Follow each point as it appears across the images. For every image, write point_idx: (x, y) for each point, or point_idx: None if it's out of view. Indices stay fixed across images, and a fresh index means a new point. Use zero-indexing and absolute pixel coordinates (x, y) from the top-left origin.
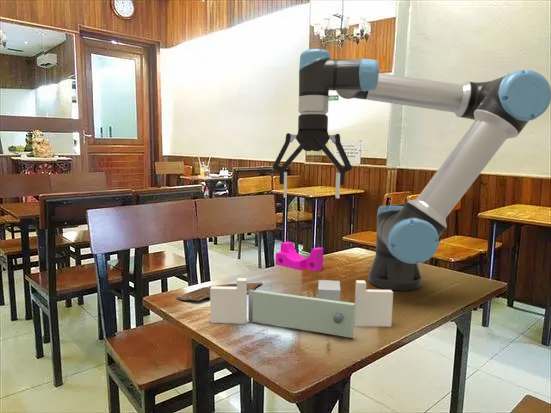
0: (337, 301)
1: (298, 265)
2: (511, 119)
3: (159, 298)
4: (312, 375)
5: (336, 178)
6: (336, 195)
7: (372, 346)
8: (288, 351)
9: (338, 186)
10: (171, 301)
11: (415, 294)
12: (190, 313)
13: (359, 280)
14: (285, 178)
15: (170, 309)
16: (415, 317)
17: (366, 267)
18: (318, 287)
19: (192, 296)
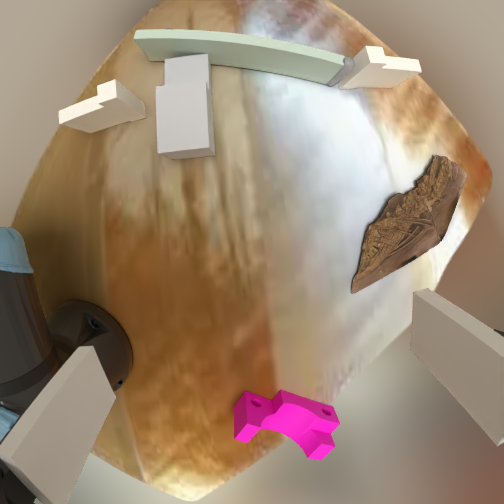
0: (164, 36)
1: (286, 397)
2: None
3: (482, 175)
4: None
5: (56, 458)
6: (88, 360)
7: (126, 47)
8: (247, 5)
9: (50, 387)
10: (466, 163)
11: (53, 294)
12: (428, 113)
13: (109, 99)
14: (501, 346)
15: (456, 129)
16: (53, 177)
17: (152, 427)
18: (205, 91)
19: (448, 170)
